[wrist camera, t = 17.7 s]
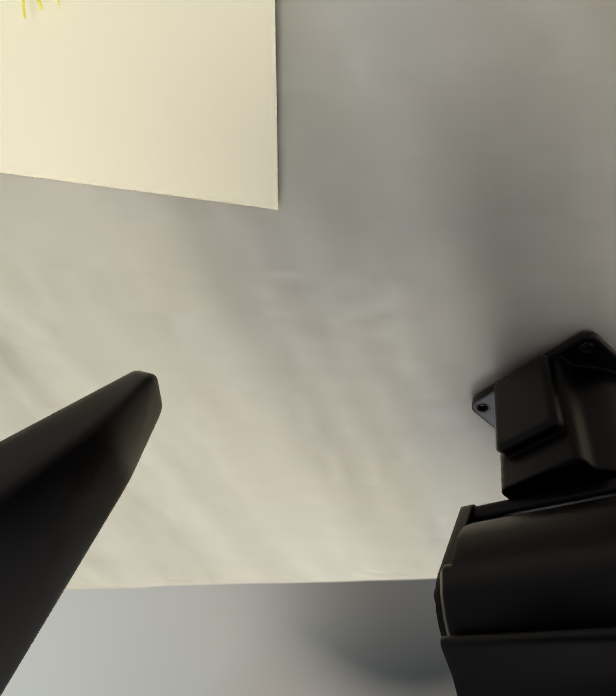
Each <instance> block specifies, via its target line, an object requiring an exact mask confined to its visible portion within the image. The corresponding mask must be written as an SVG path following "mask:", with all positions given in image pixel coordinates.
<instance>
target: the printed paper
mask: <svg viewBox="0 0 616 696" xmlns="http://www.w3.org/2000/svg"><path fill="white" fill-rule="evenodd" d="M0 172H1V173H9V174H16V175H23V176H31V177H38V178H46V179H53V180H60V181H68V182H75V183H83V184H90V185H98V186H105V187H112V188H120V189H127V190H135V191H142V192H149V193H157V194H164V195H172V196H179V197H187V198H194V199H201V200H209V201H216V202H224V203H231V204H238V205H246V206H253V207H261V208H268V209H276V210H278V164H277V100H276V36H275V0H0Z"/></svg>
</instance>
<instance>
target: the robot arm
mask: <svg viewBox="0 0 616 696" xmlns="http://www.w3.org/2000/svg"><path fill="white" fill-rule="evenodd" d="M585 342H592V344H591V345H588V346H583V345H582V344H583V343H585ZM479 404H486V405H485V406H481V405H479ZM161 409H162V401H161V396H160V390H159V385H158V380H157V377H156V376H155V375H153V374H151V373H146V372H142V371H133V372H131V373H129V374H127V375H125V376H123V377H121V378H120V379H118V380H116V381H114V382H112V383H110V384H108V385H106V386H104V387H103V388H101V389H99V390H97V391H95V392H93V393H91V394H89V395H87V396H86V397H84V398H82V399H80V400H78V401H76V402H74V403H72V404H70V405H69V406H67V407H65V408H63V409H61V410H59V411H57V412H55V413H53V414H52V415H50V416H48V417H46V418H44V419H42V420H40V421H38V422H36V423H35V424H33V425H31V426H29V427H27V428H25V429H23V430H21V431H19V432H18V433H16V434H14V435H12V436H10V437H8V438H6V439H4V440H2V441H0V695H1V694H2V693H3V691H4V689H5V687H6V686H7V684H8V682H9V681H10V679H11V678H12V676H13V674H14V672H15V671H16V669H17V667H18V666H19V664H20V663H21V661H22V659H23V658H24V656H25V654H26V653H27V651H28V649H29V647H30V645H31V644H32V643H33V641H34V639H35V638H36V636H37V634H38V633H39V631H40V629H41V628H42V626H43V624H44V623H45V621H46V619H47V617H48V616H49V614H50V613H51V611H52V609H53V608H54V606H55V604H56V603H57V601H58V599H59V598H60V596H61V594H62V593H63V591H64V589H65V588H66V586H67V584H68V583H69V581H70V579H71V578H72V576H73V574H74V573H75V571H76V569H77V568H78V566H79V564H80V563H81V561H82V559H83V558H84V556H85V554H86V553H87V551H88V549H89V548H90V546H91V544H92V543H93V541H94V539H95V538H96V536H97V534H98V533H99V531H100V529H101V528H102V526H103V524H104V523H105V521H106V519H107V518H108V516H109V514H110V513H111V511H112V509H113V508H114V506H115V504H116V503H117V501H118V499H119V498H120V496H121V494H122V493H123V491H124V489H125V487H126V486H127V484H128V482H129V480H130V478H131V476H132V474H133V472H134V470H135V468H136V466H137V464H138V461H139V459H140V457H141V455H142V453H143V451H144V448H145V446H146V444H147V442H148V440H149V437H150V435H151V433H152V431H153V429H154V427H155V424H156V422H157V420H158V418H159V416H160V413H161ZM472 410H473V411H474V412H475V413H476V414H477V415H479V416H480V417H481V418H482V419H484V420H485V421H486V422H487V423H489V424H490V425H491V426H492V427H494V428H495V429H496V449H497V451H498V452H499V453H500V459H501V483H502V493H503V495H504V496H506V497H507V498H508V499H509V500H504V501H499V502H494V503H490V504H485V505H480V506H475V505H468V506H464V507H461V509H460V512H459V515H458V518H457V520H456V523H455V526H454V529H453V532H452V535H451V538H450V541H449V544H448V547H447V549H446V552H445V555H444V558H443V561H442V564H441V567H440V570H439V573H438V577H437V581H436V588H435V591H434V599H435V603H436V613H437V619H438V625H439V628H440V632H441V636H442V638H441V648H442V650H443V653H444V656H445V658H446V660H447V663H448V666H449V668H450V671H451V674H452V676H453V680H454V684H455V688H456V691H457V695H458V696H616V351H615V350H614V349H613V348H611V347H610V346H609V345H608V344H607V343H606V342H605V341H604V340H603V339H602V338H601V337H599V336H598V335H597V334H596V333H594V332H589V331H587V332H582V333H579V334H577V335H576V336H574V337H572V338H571V339H569V340H567V341H566V342H564V343H562V344H561V345H559V346H557V347H556V348H554V349H553V350H551V351H549V352H548V353H546V354H544V355H543V356H538V357H537V358H535V359H533V360H532V361H530V362H528V363H527V364H525V365H523V366H522V367H520V368H518V369H517V370H515V371H513V372H512V373H510V374H509V375H507V376H505V377H504V378H502V379H500V380H499V381H497V382H496V383H495V385H493V386H491V387H490V388H488V389H486V390H485V391H483V392H481V393H480V394H478V395H476V396H475V397H474V398H473V400H472Z"/></svg>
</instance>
